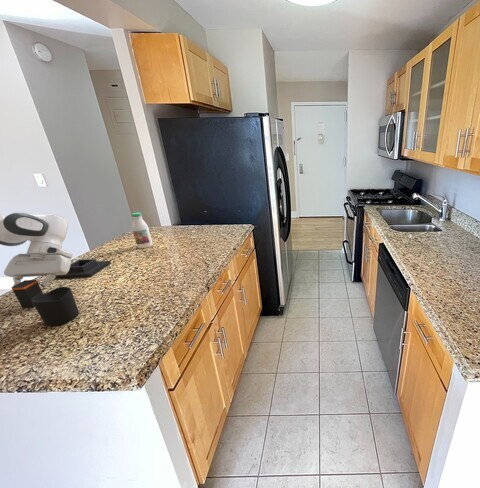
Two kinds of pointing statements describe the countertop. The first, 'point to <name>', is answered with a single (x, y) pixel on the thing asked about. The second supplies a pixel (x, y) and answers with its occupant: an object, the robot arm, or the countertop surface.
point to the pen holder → (56, 306)
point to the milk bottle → (141, 231)
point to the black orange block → (27, 292)
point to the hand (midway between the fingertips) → (31, 287)
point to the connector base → (84, 268)
